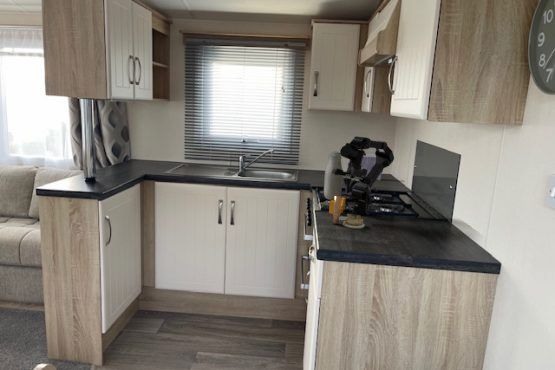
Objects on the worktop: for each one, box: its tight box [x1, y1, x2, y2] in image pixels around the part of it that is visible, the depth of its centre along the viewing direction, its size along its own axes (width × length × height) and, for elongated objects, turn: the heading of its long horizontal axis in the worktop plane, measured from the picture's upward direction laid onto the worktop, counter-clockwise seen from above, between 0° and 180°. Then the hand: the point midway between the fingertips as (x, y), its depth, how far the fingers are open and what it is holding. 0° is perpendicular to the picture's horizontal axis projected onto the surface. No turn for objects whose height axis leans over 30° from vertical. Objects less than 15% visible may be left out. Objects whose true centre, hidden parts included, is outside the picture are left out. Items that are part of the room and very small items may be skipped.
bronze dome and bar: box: [331, 195, 364, 226], centre depth 180 cm, size 14×8×12 cm, turn 83°
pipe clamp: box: [328, 197, 347, 215], centre depth 203 cm, size 12×4×6 cm, turn 143°
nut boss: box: [342, 220, 366, 230], centre depth 180 cm, size 10×10×1 cm
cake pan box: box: [361, 155, 384, 181], centre depth 306 cm, size 19×5×18 cm, turn 84°
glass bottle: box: [323, 150, 343, 201], centre depth 227 cm, size 10×10×28 cm
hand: (347, 193), depth 191 cm, fingers closed
